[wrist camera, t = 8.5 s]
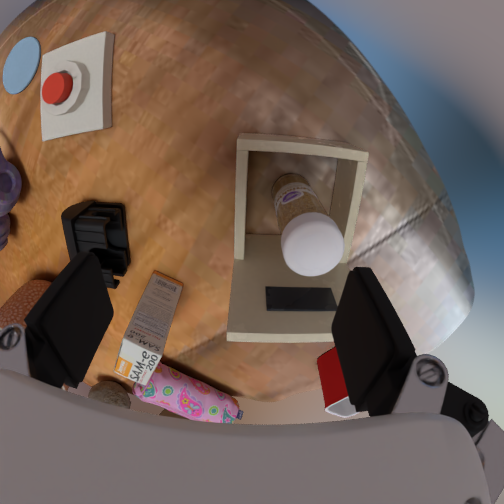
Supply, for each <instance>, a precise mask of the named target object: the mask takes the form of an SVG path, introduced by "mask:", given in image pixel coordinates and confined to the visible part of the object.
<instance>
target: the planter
mask: <svg viewBox="0 0 504 504" xmlns="http://www.w3.org/2000/svg"><path fill="white" fill-rule="evenodd" d="M51 283H52V282H49V281H46V280H32V281H29V282H27V283H25V284H24V285H23V286H21V287H20V288H19V289H18V290H17V291H16V292H15V293H14V294H13V295H12V296H11V297H10V298H9V299H8V300H7V301H6V302H5V304H4V305H3V306H2V307H1V308H0V331H1V330H2V329H3V328H4V327H5V326H7V325H9V324H12V323H19V324H21V325H22V326H23V327H24V329H25V328H26V327H27V325H26V323H25V321H24V319H25V317H26V316H27V314H28V313H29V312H30V310H31V309H32V308H33V306H34V305H35V304H36V302H37V301H38V300H39V298H40V297H41V296H42V295H43V293H44V292H45V291H46V290H47V288H48V287H49V286H50V285H51ZM62 388H63V390H65V391H67V390H68V388H69V386H67V385H65V383H64V384H63V386H62Z"/></svg>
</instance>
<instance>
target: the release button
mask: <svg viewBox="0 0 504 504" xmlns="http://www.w3.org/2000/svg"><path fill="white" fill-rule="evenodd" d="M72 88H73V80H72V77H71V76H70V75H69V74H68V73H53V74H51V75H50V76H49V77H48V78H47V79H46V80H45V82H44V84H43V87H42V98H43V100H44V101H45V102H46V103H48V104H54V103H61V102H63V101H65V100H66V99H67V98H68V97H69V95H70V94H71V91H72Z"/></svg>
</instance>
